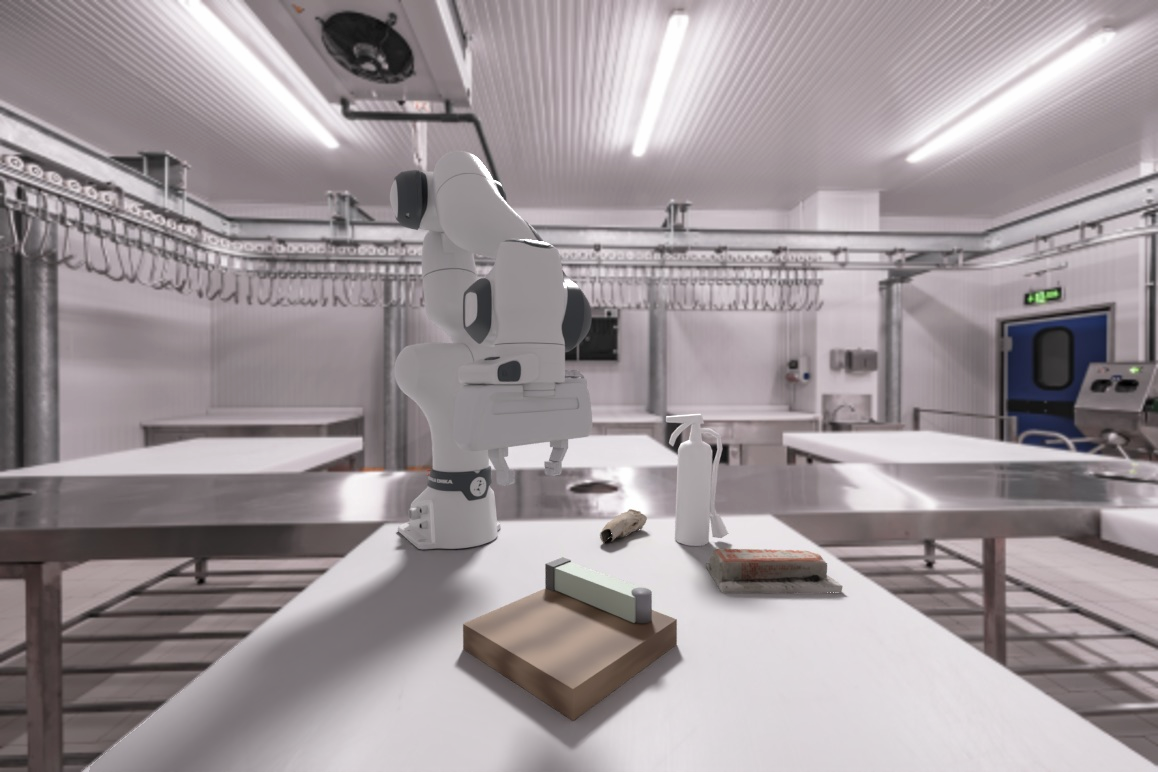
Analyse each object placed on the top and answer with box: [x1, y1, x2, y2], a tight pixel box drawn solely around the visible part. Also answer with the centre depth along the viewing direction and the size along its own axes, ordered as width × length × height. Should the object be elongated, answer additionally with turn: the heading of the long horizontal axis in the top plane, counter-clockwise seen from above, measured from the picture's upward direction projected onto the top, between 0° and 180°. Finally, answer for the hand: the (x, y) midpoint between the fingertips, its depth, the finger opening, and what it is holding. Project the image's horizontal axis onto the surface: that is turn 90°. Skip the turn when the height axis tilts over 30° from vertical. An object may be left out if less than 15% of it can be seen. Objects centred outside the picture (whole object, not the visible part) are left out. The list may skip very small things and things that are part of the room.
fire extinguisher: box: [665, 413, 729, 547], centre depth 96 cm, size 7×12×25 cm, turn 83°
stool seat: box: [462, 587, 678, 722], centre depth 58 cm, size 18×18×3 cm
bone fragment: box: [599, 508, 648, 544], centre depth 99 cm, size 14×6×5 cm, turn 145°
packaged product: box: [705, 548, 843, 594], centre depth 78 cm, size 18×5×10 cm
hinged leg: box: [544, 556, 653, 623], centre depth 63 cm, size 16×3×3 cm, turn 47°
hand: (530, 479), depth 62 cm, fingers open, 6 cm apart
